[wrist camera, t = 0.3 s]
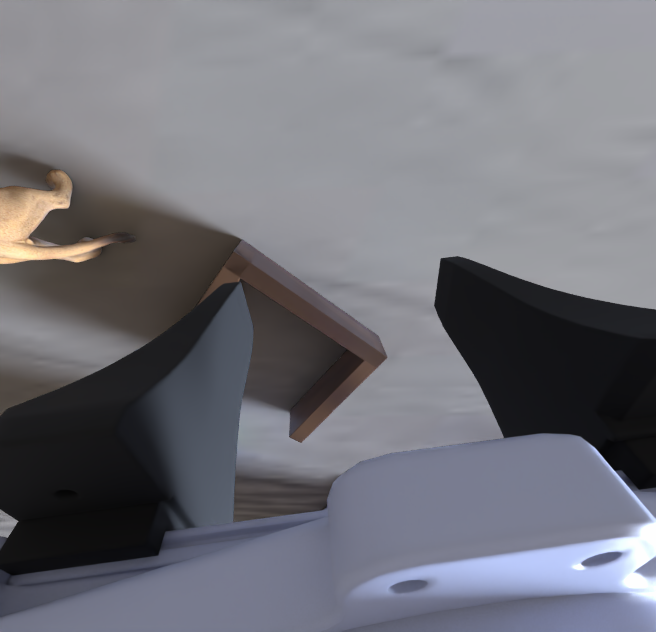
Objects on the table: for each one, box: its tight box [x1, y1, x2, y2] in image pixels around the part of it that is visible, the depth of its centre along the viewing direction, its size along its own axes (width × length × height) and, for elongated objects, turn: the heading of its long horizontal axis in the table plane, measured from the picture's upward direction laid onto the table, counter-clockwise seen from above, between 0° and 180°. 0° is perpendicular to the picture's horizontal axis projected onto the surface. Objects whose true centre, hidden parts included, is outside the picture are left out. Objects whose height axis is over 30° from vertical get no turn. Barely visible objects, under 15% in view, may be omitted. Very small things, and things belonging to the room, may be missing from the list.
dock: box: [196, 240, 387, 443], centre depth 23 cm, size 10×12×3 cm
